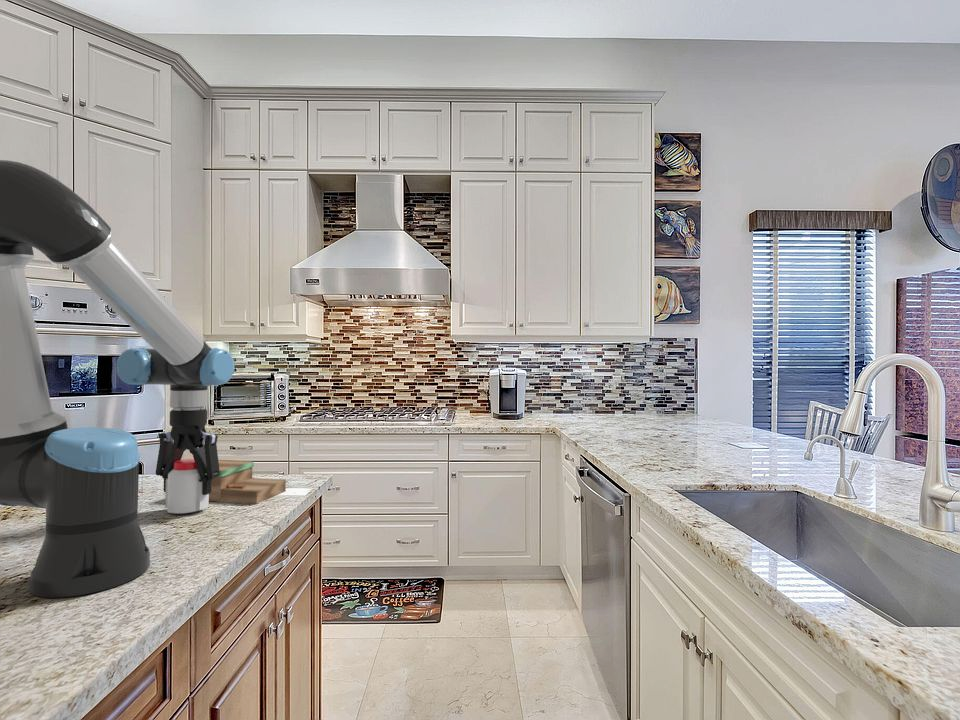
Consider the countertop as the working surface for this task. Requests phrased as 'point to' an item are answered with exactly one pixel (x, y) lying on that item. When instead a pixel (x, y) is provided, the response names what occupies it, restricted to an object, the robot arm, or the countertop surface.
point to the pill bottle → (183, 487)
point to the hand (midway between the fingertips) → (187, 507)
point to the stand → (242, 484)
